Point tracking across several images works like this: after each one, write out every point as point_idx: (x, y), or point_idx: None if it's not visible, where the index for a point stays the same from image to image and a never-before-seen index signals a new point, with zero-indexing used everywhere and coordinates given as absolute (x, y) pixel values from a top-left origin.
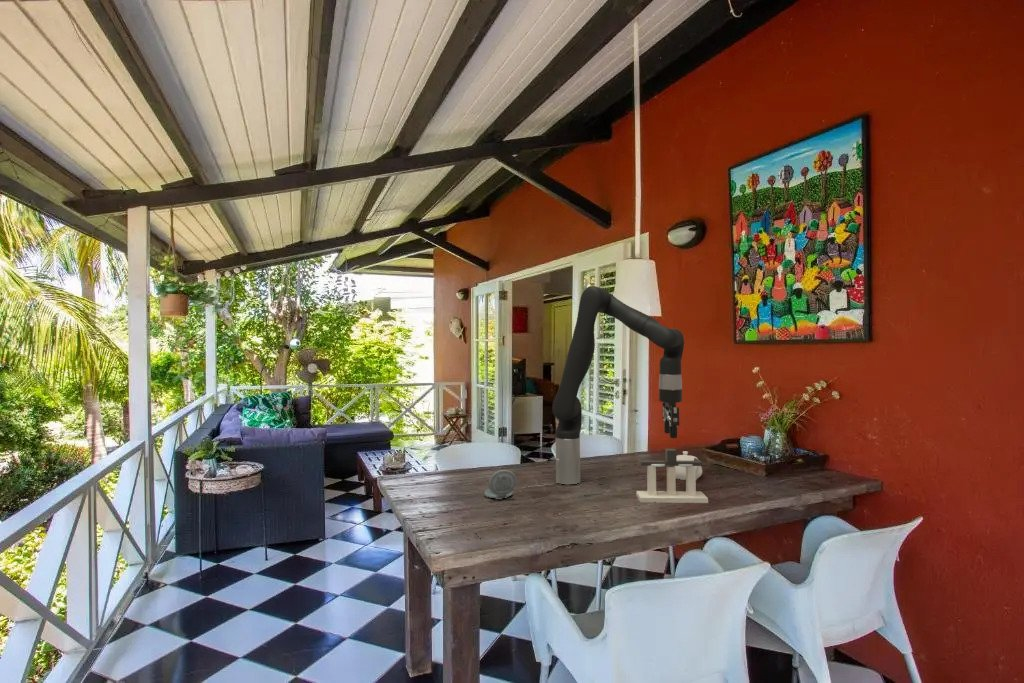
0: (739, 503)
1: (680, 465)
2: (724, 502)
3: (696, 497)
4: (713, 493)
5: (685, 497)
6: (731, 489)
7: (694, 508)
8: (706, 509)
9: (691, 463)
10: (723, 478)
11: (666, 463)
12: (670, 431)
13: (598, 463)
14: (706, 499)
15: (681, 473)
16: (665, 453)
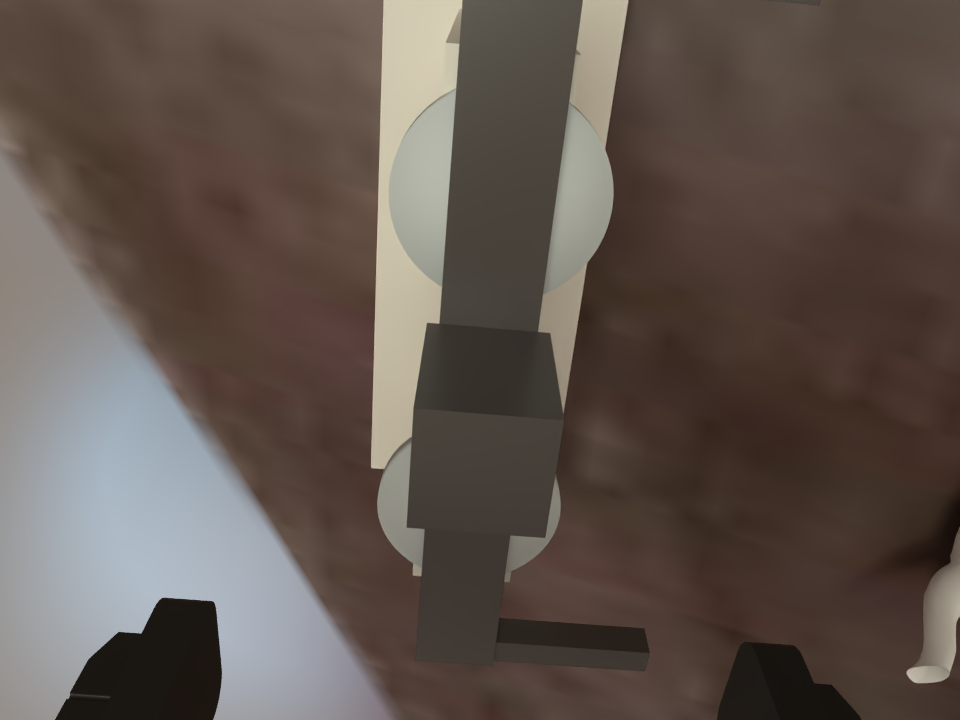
0: (367, 609)
1: (404, 445)
2: (388, 542)
3: (394, 400)
4: (598, 550)
5: (396, 322)
6: (670, 670)
7: (241, 319)
8: (224, 389)
9: (420, 564)
10: (932, 714)
11: (442, 308)
12: (102, 716)
13: None
14: (372, 452)
15: None
16: (547, 380)
